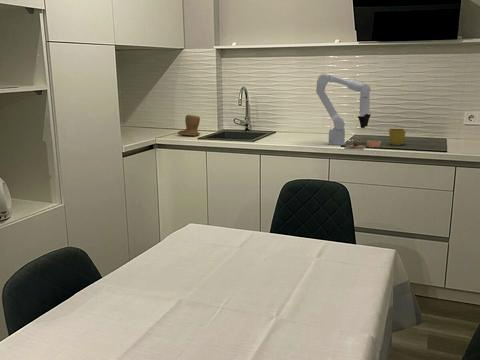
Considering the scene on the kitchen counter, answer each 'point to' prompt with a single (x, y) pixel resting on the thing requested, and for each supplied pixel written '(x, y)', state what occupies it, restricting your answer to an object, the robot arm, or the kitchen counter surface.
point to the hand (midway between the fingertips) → (364, 127)
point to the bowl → (373, 143)
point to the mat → (355, 148)
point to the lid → (355, 145)
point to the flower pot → (396, 136)
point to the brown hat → (191, 126)
